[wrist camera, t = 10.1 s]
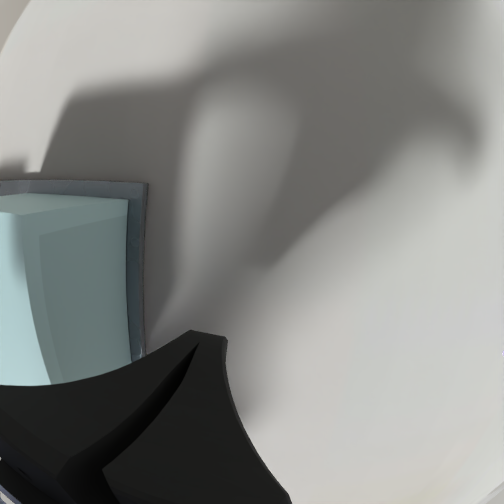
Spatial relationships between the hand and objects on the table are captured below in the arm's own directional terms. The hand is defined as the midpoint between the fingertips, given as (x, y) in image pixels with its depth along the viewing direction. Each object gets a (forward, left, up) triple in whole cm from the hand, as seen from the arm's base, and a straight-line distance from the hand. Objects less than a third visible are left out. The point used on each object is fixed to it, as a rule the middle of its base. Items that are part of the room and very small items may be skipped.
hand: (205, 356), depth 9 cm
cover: (+9, 0, -3) cm, 10 cm away
